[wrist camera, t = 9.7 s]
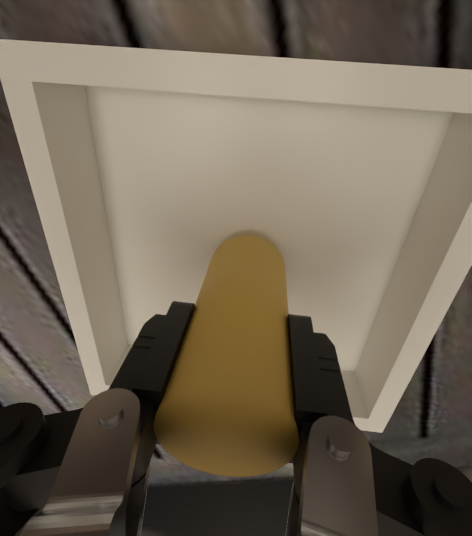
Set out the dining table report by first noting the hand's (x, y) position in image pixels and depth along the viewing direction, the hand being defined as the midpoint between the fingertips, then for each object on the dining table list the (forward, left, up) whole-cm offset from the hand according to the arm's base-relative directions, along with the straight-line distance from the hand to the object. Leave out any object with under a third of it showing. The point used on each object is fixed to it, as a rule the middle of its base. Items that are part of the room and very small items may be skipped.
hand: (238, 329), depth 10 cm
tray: (0, 0, -6) cm, 6 cm away
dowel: (0, 0, -4) cm, 4 cm away
